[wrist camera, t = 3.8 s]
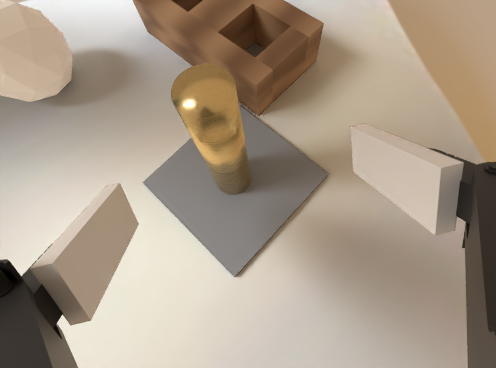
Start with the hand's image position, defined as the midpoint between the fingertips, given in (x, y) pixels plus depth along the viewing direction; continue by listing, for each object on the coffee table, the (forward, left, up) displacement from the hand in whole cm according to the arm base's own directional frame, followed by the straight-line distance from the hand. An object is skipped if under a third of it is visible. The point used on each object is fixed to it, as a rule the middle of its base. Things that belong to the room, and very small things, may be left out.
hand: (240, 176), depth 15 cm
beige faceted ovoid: (-28, -5, -9) cm, 30 cm away
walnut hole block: (-15, +12, -9) cm, 22 cm away
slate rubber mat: (-3, +1, -9) cm, 10 cm away
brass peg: (-3, +1, -9) cm, 9 cm away
